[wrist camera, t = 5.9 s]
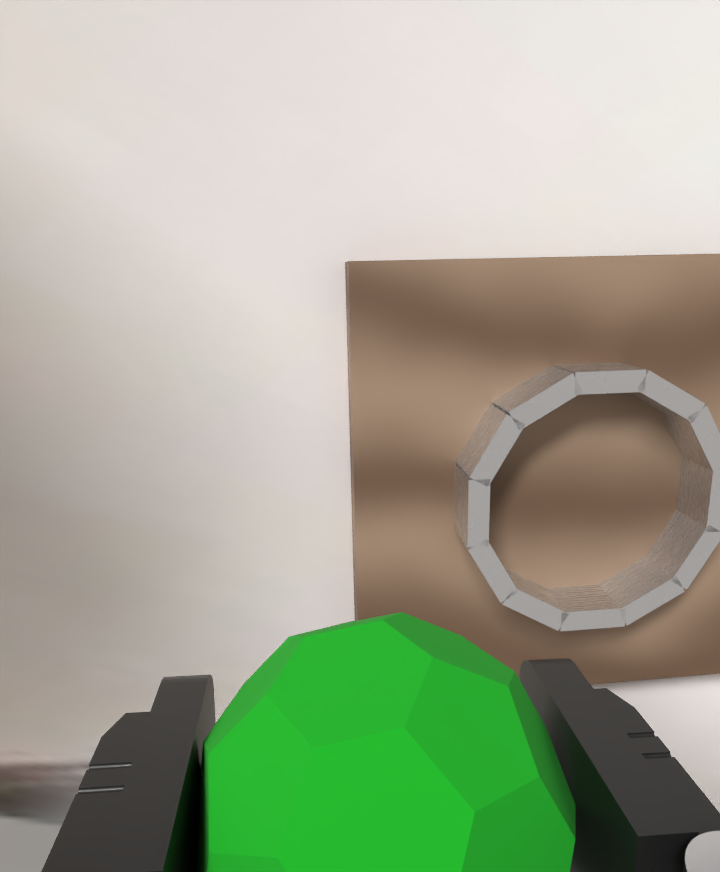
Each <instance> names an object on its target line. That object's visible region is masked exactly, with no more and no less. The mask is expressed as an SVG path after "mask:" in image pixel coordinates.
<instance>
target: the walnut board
mask: <svg viewBox="0 0 720 872" xmlns="http://www.w3.org/2000/svg"><path fill="white" fill-rule="evenodd" d="M345 272H346V309H347V346H348V383H349V420H350V457H351V494H352V531H353V568H354V605H355V621H358V620H363V619H368V618H374V617H379V616H384V615H389V614H395V613H400V612H403V613H405V614H408V615H410V616H413V617H415V618H418V619H421V620H423V621H426V622H428V623H431V624H433V625H436V626H438V627H441V628H443V629H446V630H448V631H451V632H453V633H456V634H458V635H461V636H462V637H464V638H465V639H467V640H468V641H470V642H471V643H473V644H474V645H476V646H477V647H479V648H480V649H482V650H483V651H485V652H486V653H488V654H489V655H491V656H492V657H494V658H495V659H497V660H498V661H500V662H501V663H503V664H504V665H506V666H507V667H509V668H510V669H512V670H513V671H515V673H516V674H517V676H518V678H519V674H520V667H521V664H522V662H523V661H524V660H539V659H559V658H569V659H571V660H572V661H573V662H574V663H575V665H576V666H577V667H578V669H579V670H580V671H581V673H582V674H583V675H584V677H585V678H586V679H587V681H588V682H589V683H590V684H600V683H612V682H623V681H635V680H647V679H659V678H671V677H682V676H694V675H706V674H718V673H720V542H719V543H718V545H717V546H716V547H715V549H714V550H713V552H712V553H711V555H710V556H709V558H708V559H707V561H706V562H705V564H704V565H703V567H702V568H701V570H700V571H699V573H698V574H697V575H696V577H695V578H694V580H693V581H692V583H691V584H690V586H689V587H688V589H685V588H683V589H684V591H685V592H683V593H681V594H680V595H678V596H676V597H675V598H673V599H671V600H670V601H668V602H666V603H665V604H663V605H661V606H660V607H658V608H656V609H654V610H653V611H651V612H649V613H648V614H646V615H644V616H643V617H641V618H639V619H638V620H636V621H634V622H633V623H631V624H629V625H626V624H625V627H612V628H598V629H585V630H572V631H560V630H558V631H557V630H555V629H553V628H551V627H549V626H546V625H544V624H542V623H540V622H538V621H536V620H534V619H532V618H530V617H528V616H525V615H523V614H521V613H519V612H517V611H515V610H513V609H511V608H509V607H506V606H504V605H502V603H500V601H499V600H498V598H497V597H496V595H495V593H494V592H493V590H492V589H491V587H490V586H489V584H488V583H487V581H486V579H485V578H484V576H483V575H482V573H481V571H480V570H479V568H478V566H477V565H476V563H475V561H474V560H473V558H472V557H471V555H470V553H469V552H468V550H467V548H466V547H465V545H464V544H463V542H462V540H461V539H460V537H459V535H458V534H457V532H456V531H455V528H454V509H455V465H456V464H457V463H456V461H457V459H458V457H459V456H460V454H461V452H462V451H463V449H464V447H465V446H466V444H467V442H468V440H469V439H470V437H471V435H472V434H473V432H474V430H475V428H476V427H477V425H478V423H479V422H480V420H481V418H482V416H483V415H484V413H485V411H486V410H487V408H488V406H489V405H490V404H491V405H493V403H492V401H494V400H496V399H497V398H499V397H500V396H502V395H504V394H505V393H507V392H509V391H510V390H512V389H514V388H515V387H517V386H518V385H520V384H522V383H523V382H525V381H527V380H528V379H530V378H531V377H533V376H535V375H536V374H538V373H540V372H541V371H543V370H544V369H546V368H548V367H549V366H553V365H565V364H592V363H623V364H627V365H630V366H634V367H638V368H642V369H646V370H650V371H651V372H653V373H655V374H656V375H658V376H660V377H661V378H663V379H665V380H666V381H668V382H670V383H671V384H673V385H675V386H676V387H678V388H680V389H681V390H683V391H685V392H686V393H688V394H690V395H692V396H693V397H695V398H697V399H698V400H700V401H702V402H703V403H705V405H707V407H708V409H709V411H710V413H711V416H712V418H713V420H714V422H715V424H716V426H717V429H718V431H719V433H720V254H684V255H636V256H587V257H539V258H490V259H442V260H394V261H348V262H345ZM493 406H494V405H493ZM681 458H682V457H681V455H680V453H679V450H678V448H677V446H676V444H675V442H674V440H673V438H672V436H671V434H670V432H669V430H668V428H667V426H666V423H665V421H664V419H663V417H662V415H661V413H660V411H659V410H658V409H656V408H655V407H653V406H651V405H650V404H648V403H646V402H644V401H643V400H641V399H639V398H637V397H636V396H634V395H632V394H631V393H606V394H582V395H577V396H576V397H574V398H572V399H571V400H569V401H567V402H566V403H564V404H563V405H561V406H559V407H558V408H556V409H554V410H553V411H551V412H549V413H548V414H546V415H545V416H543V417H541V418H540V419H538V420H536V421H535V422H533V423H531V424H530V425H528V426H526V427H525V428H523V430H522V431H521V433H520V435H519V436H518V438H517V440H516V441H515V443H514V445H513V446H512V448H511V450H510V451H509V453H508V455H507V456H506V458H505V460H504V461H503V463H502V465H501V466H500V468H499V470H498V471H497V473H496V475H495V476H494V478H493V480H492V481H491V483H490V515H489V543H490V545H491V547H492V548H493V550H494V552H495V553H496V555H497V557H498V558H499V560H500V562H501V563H502V565H503V567H504V568H505V569H507V570H510V571H512V572H514V573H516V574H518V575H520V576H522V577H524V578H526V579H528V580H530V581H532V582H534V583H536V584H538V585H540V586H542V587H544V588H556V587H571V586H585V585H599V584H600V583H602V582H604V581H605V580H607V579H609V578H610V577H612V576H614V575H615V574H617V573H619V572H620V571H622V570H624V569H625V568H627V567H629V566H630V565H632V564H634V563H635V562H637V561H639V560H640V559H642V558H644V557H646V555H647V554H648V552H649V551H650V549H651V548H652V546H653V545H654V543H655V542H656V540H657V539H658V537H659V536H660V534H661V532H662V531H663V529H664V528H665V526H666V525H667V523H668V522H669V520H670V519H671V517H672V516H673V514H674V513H675V511H676V507H677V497H678V487H679V478H680V468H681Z"/></svg>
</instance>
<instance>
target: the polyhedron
mask: <svg viewBox="0 0 720 872" xmlns="http://www.w3.org/2000/svg"><path fill="white" fill-rule="evenodd" d="M575 839H576V838H575V802H574V800H573V797H572V794H571V792H570V789H569V786H568V784H567V781H566V778H565V776H564V773H563V771H562V768H561V765H560V763H559V760H558V757H557V755H556V752H555V749H554V747H553V744H552V741H551V739H550V736H549V733H548V731H547V728H546V726H545V724H544V723H543V721H542V719H541V717H540V716H539V714H538V712H537V710H536V708H535V707H534V705H533V703H532V701H531V699H530V698H529V696H528V694H527V692H526V691H525V689H524V687H523V685H522V683H521V682H520V680H519V678H518V676H517V674H516V673H515V671H513V670H512V669H510V668H509V667H507V666H506V665H504V664H503V663H501V662H500V661H498V660H497V659H495V658H494V657H492V656H491V655H489V654H488V653H486V652H485V651H483V650H482V649H480V648H479V647H477V646H476V645H474V644H473V643H471V642H470V641H468V640H467V639H465V638H464V637H462V636H461V635H458V634H456V633H453V632H451V631H448V630H446V629H443V628H441V627H438V626H436V625H433V624H431V623H428V622H426V621H423V620H421V619H418V618H415V617H413V616H410V615H408V614H405V613H403V612H400V613H395V614H389V615H384V616H379V617H374V618H368V619H363V620H358V621H352V622H347V623H343V624H339V625H335V626H331V627H327V628H323V629H319V630H315V631H311V632H307V633H303V634H299V635H295V636H291V637H289V638H288V639H287V640H286V641H285V642H284V643H283V644H282V645H281V646H280V647H279V648H278V649H277V650H276V651H275V652H274V653H273V654H272V655H271V656H270V657H269V658H268V659H267V660H266V661H265V662H264V663H263V665H262V666H261V667H260V668H259V669H258V670H257V671H256V672H255V673H254V674H253V675H252V676H251V677H250V678H249V679H248V680H247V681H246V682H245V683H244V685H243V686H242V687H241V689H240V690H239V692H238V693H237V694H236V696H235V697H234V699H233V700H232V701H231V703H230V704H229V706H228V707H227V708H226V710H225V711H224V713H223V714H222V716H221V717H220V718H219V720H218V721H217V723H216V724H215V725H214V727H213V728H212V730H211V731H210V732H209V734H208V735H207V737H206V738H205V739H204V741H203V748H202V760H201V778H200V805H199V833H198V859H197V872H570V868H571V862H572V856H573V851H574V845H575Z"/></svg>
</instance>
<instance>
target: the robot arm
mask: <svg viewBox="0 0 720 872" xmlns="http://www.w3.org/2000/svg"><path fill="white" fill-rule="evenodd" d="M519 680H520V682H521V683H522V685H523V687H524V689H525V691H526V692H527V694H528V696H529V698H530V699H531V701H532V703H533V705H534V707H535V708H536V710H537V712H538V714H539V716H540V717H541V719H542V721H543V723H544V724H545V726H546V728H547V731H548V733H549V736H550V739H551V741H552V744H553V747H554V749H555V752H556V755H557V757H558V760H559V763H560V765H561V768H562V771H563V773H564V776H565V778H566V781H567V784H568V786H569V789H570V792H571V794H572V797H573V800H574V802H575V838H576V839H575V845H574V851H573V856H572V862H571V868H570V872H720V813H719V812H718V811H717V809H716V808H715V807H714V806H713V804H712V803H711V802H710V801H709V799H708V798H707V797H706V796H705V794H704V793H703V792H702V791H701V789H700V788H699V787H698V786H697V785H696V783H695V782H694V781H693V780H692V778H691V777H690V776H689V775H688V773H687V772H686V771H685V770H684V768H683V767H682V766H681V765H680V763H679V762H678V761H677V760H676V758H675V757H671V755H670V751H669V750H668V749H667V747H666V746H665V745H664V744H663V742H662V741H661V740H660V739H659V737H658V736H657V737H655V735H654V731H653V730H652V729H651V727H650V726H649V725H648V724H647V722H646V721H645V720H644V719H643V717H642V716H641V715H640V714H639V712H638V711H637V710H636V709H635V708H634V707H633V706H631V705H630V704H628V703H627V702H626V701H624V700H623V699H621V698H620V697H618V696H617V695H615V694H614V693H612V692H611V691H609V690H608V689H606V688H602V689H593V688H592V686H591V685H590V683H589V682H588V681H587V679H586V678H585V677H584V675H583V674H582V673H581V671H580V670H579V669H578V667H577V666H576V665H575V663H574V662H573V661H572V660H571V659H569V658H559V659H539V660H524V661H523V662H522V664H521V667H520V674H519ZM214 725H215V705H214V687H213V679H212V676H211V675H197V676H176V677H164V678H163V679H162V681H161V683H160V686H159V689H158V692H157V695H156V698H155V700H154V703H153V706H152V709H151V712H139V713H126V714H125V715H124V716H123V717H122V718H121V719H120V720H118V721H117V722H116V723H115V724H114V725H113V726H112V727H111V728H110V729H109V730H108V731H107V732H106V733H105V734H104V735H103V736H102V737H101V739H100V742H99V744H98V746H97V748H96V751H95V753H94V755H93V757H92V760H91V762H90V764H89V770H87V771H86V773H85V775H84V777H83V780H82V782H81V784H80V786H79V792H78V794H76V795H75V798H74V800H73V802H72V804H71V807H70V809H69V811H68V813H67V816H66V818H65V820H64V822H63V825H62V827H61V829H60V831H59V834H58V836H57V838H56V840H55V842H54V845H53V847H52V849H51V852H50V854H49V856H48V858H47V860H46V863H45V865H44V867H43V869H42V872H197V859H198V833H199V805H200V778H201V760H202V748H203V741H204V739H205V738H206V737H207V735H208V734H209V732H210V731H211V730H212V728H213V727H214Z"/></svg>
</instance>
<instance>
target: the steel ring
mask: <svg viewBox="0 0 720 872" xmlns="http://www.w3.org/2000/svg"><path fill="white" fill-rule="evenodd" d="M606 393H631V394H632V395H634V396H636V397H637V398H639V399H641V400H643V401H644V402H646V403H648V404H650V405H651V406H653V407H655V408H656V409H658V410H659V411H660V413H661V415H662V417H663V419H664V421H665V423H666V426H667V428H668V430H669V432H670V434H671V436H672V438H673V440H674V442H675V444H676V446H677V448H678V450H679V453H680V455H681V457H682V458H681V468H680V478H679V487H678V497H677V507H676V511H675V513H674V514H673V516H672V517H671V519H670V520H669V522H668V523H667V525H666V526H665V528H664V529H663V531H662V532H661V534H660V536H659V537H658V539H657V540H656V542H655V543H654V545H653V546H652V548H651V549H650V551H649V552H648V554H647V555H646V557H644V558H642V559H640V560H639V561H637V562H635V563H634V564H632V565H630V566H629V567H627V568H625V569H624V570H622V571H620V572H619V573H617V574H615V575H614V576H612V577H610V578H609V579H607V580H605V581H604V582H602V583H600V584H599V585H585V586H571V587H556V588H544V587H542V586H540V585H538V584H536V583H534V582H532V581H530V580H528V579H526V578H524V577H522V576H520V575H518V574H516V573H514V572H512V571H510V570H507V569H505V568H504V567H503V565H502V563H501V562H500V560H499V558H498V557H497V555H496V553H495V552H494V550H493V548H492V547H491V545H490V543H489V515H490V483H491V481H492V480H493V478H494V476H495V475H496V473H497V471H498V470H499V468H500V466H501V465H502V463H503V461H504V460H505V458H506V456H507V455H508V453H509V451H510V450H511V448H512V446H513V445H514V443H515V441H516V440H517V438H518V436H519V435H520V433H521V431H522V430H523V428H525V427H526V426H528V425H530V424H531V423H533V422H535V421H536V420H538V419H540V418H541V417H543V416H545V415H546V414H548V413H549V412H551V411H553V410H554V409H556V408H558V407H559V406H561V405H563V404H564V403H566V402H567V401H569V400H571V399H572V398H574V397H576V396H577V395H582V394H606ZM492 403H493V405H494V406H493V405H491V404H490V405H489V406H488V408H487V410H486V411H485V413H484V415H483V416H482V418H481V420H480V422H479V423H478V425H477V427H476V428H475V430H474V432H473V434H472V435H471V437H470V439H469V440H468V442H467V444H466V446H465V447H464V449H463V451H462V452H461V454H460V456H459V457H458V459H457V461H456V463H457V464H456V465H455V509H454V528H455V531H456V532H457V534H458V535H459V537H460V539H461V540H462V542H463V544H464V545H465V547H466V548H467V550H468V552H469V553H470V555H471V557H472V558H473V560H474V561H475V563H476V565H477V566H478V568H479V570H480V571H481V573H482V575H483V576H484V578H485V579H486V581H487V583H488V584H489V586H490V587H491V589H492V590H493V592H494V593H495V595H496V597H497V598H498V600H499V601H500V603H502V605H504V606H506V607H509V608H511V609H513V610H515V611H517V612H519V613H521V614H523V615H525V616H528V617H530V618H532V619H534V620H536V621H538V622H540V623H542V624H544V625H546V626H549V627H551V628H553V629H555V630H557V631H558V630H560V631H572V630H585V629H598V628H612V627H625V624H626V625H629V624H631V623H633V622H634V621H636V620H638V619H639V618H641V617H643V616H644V615H646V614H648V613H649V612H651V611H653V610H654V609H656V608H658V607H660V606H661V605H663V604H665V603H666V602H668V601H670V600H671V599H673V598H675V597H676V596H678V595H680V594H681V593H683V592H685V591H684V589H683V588H685V589H688V587H689V586H690V584H691V583H692V581H693V580H694V578H695V577H696V575H697V574H698V573H699V571H700V570H701V568H702V567H703V565H704V564H705V562H706V561H707V559H708V558H709V556H710V555H711V553H712V552H713V550H714V549H715V547H716V546H717V545H718V543H719V542H720V433H719V431H718V429H717V426H716V424H715V422H714V420H713V418H712V416H711V413H710V411H709V409H708V407H707V405H705V403H703V402H702V401H700V400H698V399H697V398H695V397H693V396H692V395H690V394H688V393H686V392H685V391H683V390H681V389H680V388H678V387H676V386H675V385H673V384H671V383H670V382H668V381H666V380H665V379H663V378H661V377H660V376H658V375H656V374H655V373H653V372H651V371H650V370H646V369H642V368H638V367H634V366H630V365H627V364H623V363H592V364H565V365H553V366H549V367H548V368H546V369H544V370H543V371H541V372H540V373H538V374H536V375H535V376H533V377H531V378H530V379H528V380H527V381H525V382H523V383H522V384H520V385H518V386H517V387H515V388H514V389H512V390H510V391H509V392H507V393H505V394H504V395H502V396H500V397H499V398H497V399H496V400H494V401H492Z"/></svg>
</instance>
